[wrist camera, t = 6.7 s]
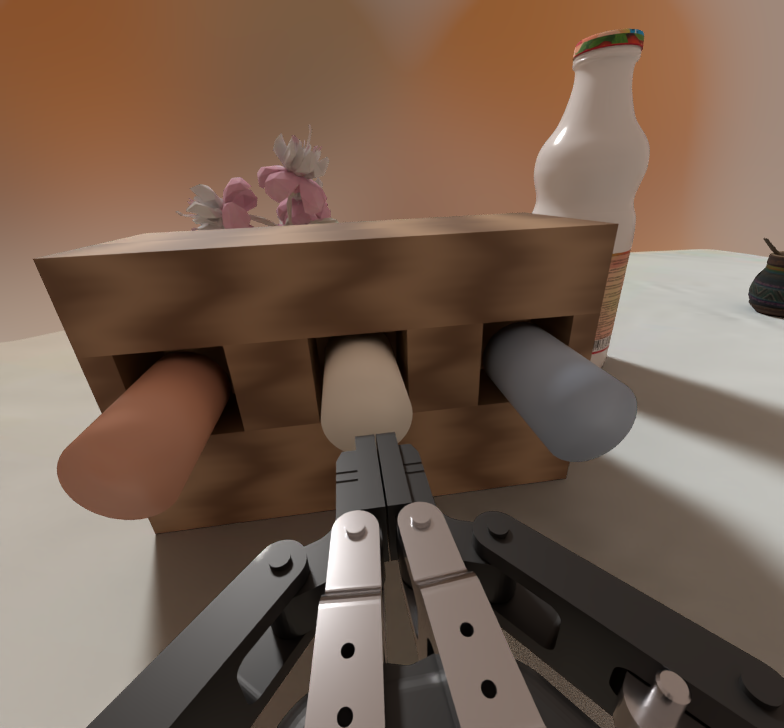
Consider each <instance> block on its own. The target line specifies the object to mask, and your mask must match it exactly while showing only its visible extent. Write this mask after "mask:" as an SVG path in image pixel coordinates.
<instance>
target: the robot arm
mask: <svg viewBox="0 0 784 728" xmlns="http://www.w3.org/2000/svg"><path fill="white" fill-rule="evenodd" d="M355 444H356V450H354V451H345V452H342V453H341V454H340V456H339V458H338V460H337V461H336V520H335V523H334V525H333V527H332V529H331V530H330V531H329V533H328V534H326V535H325V536H324V537H323V538H321V539H320V540H318V541H316V542H313V543H311V544H309V545H307V546H303V545H302V544H301V543H299V542H297V541H294V540H281V541H278V542H275V543H273V544H271V545H269V546H268V547H266V548H265V549H264V550H263V551H262V552H261V553H260V554H259V555H258V556H257V557H256V558H255V559H254V560H253V561H252V562H251V563H250V564H249V565H248V566H247V567H246V568H245V569H244V570H243V571H242V572H241V573H240V574H239V575H238V576H237V577H236V578H235V579H234V580H233V581H232V582H231V583H230V584H229V585H228V586H227V587H226V588H225V589H224V590H223V591H222V592H221V593H220V594H219V595H218V596H217V597H216V598H215V599H214V600H213V601H212V602H211V603H210V604H209V605H208V606H207V607H206V608H205V609H204V610H203V611H202V612H201V613H200V614H199V615H198V616H197V617H196V618H195V619H194V620H193V621H192V622H191V623H190V624H189V625H188V626H187V627H186V628H185V629H184V630H183V631H182V632H181V633H180V634H179V635H178V636H177V637H176V638H175V639H174V640H173V641H172V642H171V643H170V644H169V645H168V646H167V647H166V648H165V649H164V650H163V651H162V652H161V653H160V654H159V655H158V656H157V657H156V658H155V659H154V660H153V661H152V662H151V663H150V664H149V665H148V666H147V667H146V668H145V669H144V670H143V671H142V672H141V673H140V674H139V675H138V676H137V677H136V678H135V679H134V680H133V681H132V682H131V683H130V684H129V685H128V686H127V687H126V688H125V689H124V690H123V691H122V692H121V693H120V694H119V695H118V696H117V697H116V698H115V699H114V700H113V701H112V702H111V703H110V704H109V705H108V706H107V707H106V708H105V709H104V710H103V711H102V712H101V713H100V714H99V715H98V716H97V717H96V718H95V719H94V720H93V721H92V722H91V723H90V724H89V725H88V726H87V727H86V728H250V727H251V726H252V724H253V723H254V722H255V720H256V719H257V717H258V716H259V714H260V713H261V712H262V710H263V709H264V707H265V706H266V704H267V703H268V701H269V700H270V699H271V697H272V696H273V694H274V693H275V691H276V690H277V689H278V687H279V686H280V684H281V683H282V681H283V680H284V679H285V677H286V676H287V674H288V673H289V671H290V670H291V669H292V667H293V666H294V664H295V663H296V661H297V660H298V659H299V657H300V656H301V654H302V653H303V651H304V650H305V649H306V647H307V646H308V644H309V643H310V641H311V640H312V639H313V637H314V636H315V642H314V651H313V659H312V668H311V676H310V685H309V693H307V694H306V695H305V696H304V697H303V698H301V699H300V700H299V701H298V702H297V703H296V704H295V705H294V706H293V707H292V708H291V709H290V711H289V712H288V713H287V714H286V716H285V717H284V718H283V719H282V721H281V722H280V724H279V725H278V727H277V728H600V727H599V726H598V725H597V724H596V723H595V722H594V721H593V720H591V719H590V718H589V717H588V716H587V715H586V714H585V713H583V712H582V711H581V710H580V709H579V708H578V707H577V706H575V705H574V704H573V703H572V702H571V701H570V700H569V699H567V698H566V697H565V696H564V695H563V694H562V693H561V692H559V691H558V690H557V689H556V688H555V687H554V686H553V685H551V684H550V683H549V682H548V681H547V680H546V679H545V678H543V677H542V676H541V675H540V674H539V673H537V672H536V671H534V670H533V669H532V668H530V667H529V666H527V665H525V664H523V663H522V662H520V661H518V660H516V659H515V658H514V656H513V654H512V652H511V649H510V647H509V645H508V643H507V641H506V638H505V636H504V634H503V632H502V629H501V628H503V629H504V630H505V631H506V632H508V633H509V634H510V635H511V636H513V637H514V638H515V639H516V640H518V641H519V642H520V643H521V644H523V645H524V646H525V647H526V648H528V649H529V650H530V651H531V652H533V653H534V654H535V655H536V656H538V657H539V658H540V659H541V660H543V661H544V662H545V663H546V664H548V665H549V666H550V667H551V668H553V669H554V670H555V671H556V672H558V673H559V674H560V675H561V676H563V677H564V678H565V679H566V680H568V681H569V682H570V683H571V684H573V685H574V686H575V687H576V688H578V689H579V690H580V691H581V692H583V693H584V694H585V695H586V696H588V697H589V698H590V699H591V700H593V701H594V702H595V703H596V704H598V705H599V706H600V707H601V708H603V709H604V710H605V711H606V712H608V713H609V714H610V715H611V716H613V720H614V725H615V728H784V678H783V677H782V676H781V675H780V674H778V673H777V672H776V671H775V670H773V669H772V668H771V667H769V666H768V665H766V664H765V663H763V662H762V661H760V660H758V659H756V658H755V657H753V656H751V655H750V654H748V653H746V652H744V651H743V650H741V649H739V648H737V647H736V646H734V645H732V644H730V643H729V642H727V641H725V640H724V639H722V638H720V637H718V636H717V635H715V634H713V633H711V632H710V631H708V630H706V629H705V628H703V627H701V626H699V625H698V624H696V623H694V622H692V621H691V620H689V619H687V618H685V617H684V616H682V615H680V614H679V613H677V612H675V611H673V610H672V609H670V608H668V607H666V606H665V605H663V604H661V603H660V602H658V601H656V600H654V599H653V598H651V597H649V596H647V595H646V594H644V593H642V592H640V591H639V590H637V589H635V588H634V587H632V586H630V585H628V584H627V583H625V582H623V581H621V580H620V579H618V578H616V577H615V576H613V575H611V574H609V573H608V572H606V571H604V570H602V569H601V568H599V567H597V566H595V565H594V564H592V563H590V562H589V561H587V560H585V559H583V558H582V557H580V556H578V555H576V554H575V553H573V552H571V551H570V550H568V549H566V548H564V547H563V546H561V545H559V544H557V543H556V542H554V541H552V540H550V539H549V538H547V537H545V536H544V535H542V534H540V533H538V532H537V531H535V530H533V529H531V528H530V527H528V526H526V525H525V524H523V523H521V522H519V521H518V520H516V519H514V518H512V517H511V516H509V515H507V514H504V513H502V512H496V511H489V512H485V513H482V514H480V515H479V516H478V517H476V519H475V520H474V522H468V521H460V520H455V519H452V518H450V517H448V516H446V515H444V514H443V513H442V512H441V511H440V510H439V509H438V508H437V506H436V505H435V502H434V499H433V496H432V493H431V489H430V486H429V483H428V480H427V477H426V474H425V471H424V467H423V464H422V461H421V458H420V455H419V452H418V451H417V450H416V449H415V448H414V447H413V446H412V445H411V444H403V445H398V442H397V438H396V434H395V432H388V433H380V434H376V443H375V437H374V434H372V435H363V436H355ZM376 448H377V449H376ZM387 535H388V537H387ZM388 542H389V549H390V556H391V561H392V560H398V561H399V567H400V577H401V586H402V591H403V595H404V599H405V603H406V607H407V611H408V615H409V619H410V623H411V627H412V631H413V635H414V639H415V644H416V648H417V653H418V660H419V661H418V662H416V663H415V664H412V665H398V664H390V663H387V644H386V620H385V596H384V583H385V565H384V562H386V561H389V552H388Z"/></svg>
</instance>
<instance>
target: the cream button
mask: <svg viewBox="0 0 784 728" xmlns="http://www.w3.org/2000/svg"><path fill="white" fill-rule="evenodd" d="M412 415H413V412H412V406H411V402H410V400H409V397H408V394H407V391H406V388H405V385H404V382H403V380H402V377H401V374H400V371H399V368H398V365H397V362H396V360H395V357H394V354H393V351H392V348H391V345H390V343H389V340H388V339H387V337H386V336H385V334H384V333H383V332H376V333H364V334H353V335H341V336H331V337H330V339H329V341H328V343H327V345H326V350H325V363H324V378H323V393H322V408H321V425H322V429H323V431H324V434H325V435H326V437H327V438H328V440H329V441H330V442H331V443H332V444H333V445H334V446H336V447H337V448H339V449H341V450H342V451H354V450H356V444H355V436H363V435H372V434H374V437H375V443H376V434H380V433H388V432H395V434H396V438H397V442H398V443H399V442H400V441H401V440H402V439H403V438H404V436H405V435H406V434H407V432H408V430H409V428H410V425H411V422H412ZM376 449H377V448H376Z"/></svg>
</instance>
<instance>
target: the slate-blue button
mask: <svg viewBox="0 0 784 728" xmlns="http://www.w3.org/2000/svg"><path fill="white" fill-rule="evenodd" d="M483 366H484V369H485V372H486V374H487V375H488V376H489V378H490V379H491V380H492V381H493V383H494V384H495V385H496V386H497V387H498V389H499V390H500V391H501V392H502V394H503V395H504V396H505V397H506V398H507V400H508V401H509V402H510V403H511V405H512V406H513V407H514V408H515V409H516V411H517V412H518V413H519V414H520V416H521V417H522V418H523V419H524V420H525V422H526V423H527V424H528V425H529V427H530V428H531V429H532V430H533V431H534V433H535V434H536V435H537V436H538V438H539V439H540V440H541V441H542V442H543V444H544V445H545V446H546V447H547V449H548V450H549V451H550V452H551V453H552V454H553V455H554V456H556V457H557V458H559V459H561V460H565V461H569V462H582V461H588V460H591V459H594V458H597V457H599V456H601V455H603V454H605V453H607V452H609V451H610V450H612V449H613V448H614V447H616V446H617V445H618V444H619V443H620V442H621V441H622V440H623V439H624V438H625V437H626V435H627V434H628V433H629V431H630V429H631V428H632V426H633V424H634V421H635V418H636V414H637V401H636V397H635V395H634V393H633V392H632V390H631V389H630V388H629V387H628V386H626V385H625V384H623V383H622V382H620V381H619V380H618V379H616V378H615V377H613V376H612V375H610V374H609V373H607V372H606V371H604V370H603V369H601V368H600V367H598V366H597V365H595V364H594V363H592V362H591V361H589V360H588V359H586V358H585V357H583V356H582V355H580V354H579V353H577V352H576V351H574V350H573V349H571V348H570V347H568V346H567V345H566V344H564V343H563V342H561V341H560V340H558V339H557V338H555V337H554V336H552V335H551V334H549V333H548V332H546V331H545V330H543V329H542V328H540V327H539V326H537V325H535V324H533V323H529V322H517V323H513V324H510V325H507V326H505V327H503V328H502V329H500V330H499V331H498V332H497V333H495V334H494V335H493V337H492V338H491V339H490V340H489V342H488V344H487V345H486V348H485V350H484V354H483Z"/></svg>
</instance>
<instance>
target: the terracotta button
mask: <svg viewBox="0 0 784 728" xmlns="http://www.w3.org/2000/svg"><path fill="white" fill-rule="evenodd" d="M230 392H231V387H230V382H229V379H228V377H227V375H226V373H225V372H224V370H223V369H222V368H221V367H220V366H219V365H218V364H217V363H216V362H214V361H213V360H212V359H210V358H208V357H206V356H204V355H201V354H198V353H193V352H174V353H171V354H168V355H165V356H163V357H162V358H160V359H159V360H158V361H157V362H156V363H154V364H153V365H152V366H151V367H150V368H149V369H148V370H147V371H146V372H145V373H144V374H143V375H142V376H141V377H140V378H139V379H138V380H137V381H136V382H135V383H134V384H133V385H131V386H130V387H129V388H128V389H127V390H126V391H125V392H124V393H123V394H122V395H121V396H120V397H119V398H118V399H117V400H116V401H115V402H114V403H113V404H112V405H111V406H109V407H108V408H107V409H106V410H105V411H104V412H103V413H102V414H101V415H100V416H99V417H98V418H97V419H96V420H95V421H94V422H93V423H92V424H91V425H90V426H89V427H87V428H86V429H85V430H84V431H83V432H82V433H81V434H80V435H79V436H78V437H77V438H76V439H75V440H74V441H73V442H72V443H71V444H70V445H69V446H68V447H67V448H66V449H65V450H64V451H63V452H62V454H61V456H60V457H59V460H58V464H57V475H58V479H59V482H60V484H61V486H62V488H63V489H64V491H65V492H66V493H67V494H68V495H69V497H70V498H72V499H73V500H74V501H75V502H76V503H78V504H79V505H80V506H82V507H84V508H85V509H87V510H89V511H91V512H94V513H96V514H99V515H102V516H105V517H109V518H114V519H122V520H137V519H144V518H149V517H152V516H155V515H158V514H160V513H162V512H164V511H166V510H167V509H169V508H170V507H171V506H172V505H173V504H174V503H175V502H176V501H177V499H178V498H179V496H180V494H181V492H182V490H183V488H184V486H185V484H186V482H187V480H188V478H189V476H190V474H191V472H192V470H193V468H194V466H195V464H196V462H197V460H198V459H199V457H200V455H201V453H202V451H203V449H204V447H205V445H206V443H207V441H208V439H209V437H210V435H211V433H212V431H213V429H214V427H215V425H216V423H217V421H218V420H219V418H220V416H221V414H222V412H223V410H224V408H225V406H226V404H227V402H228V400H229V397H230Z"/></svg>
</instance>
